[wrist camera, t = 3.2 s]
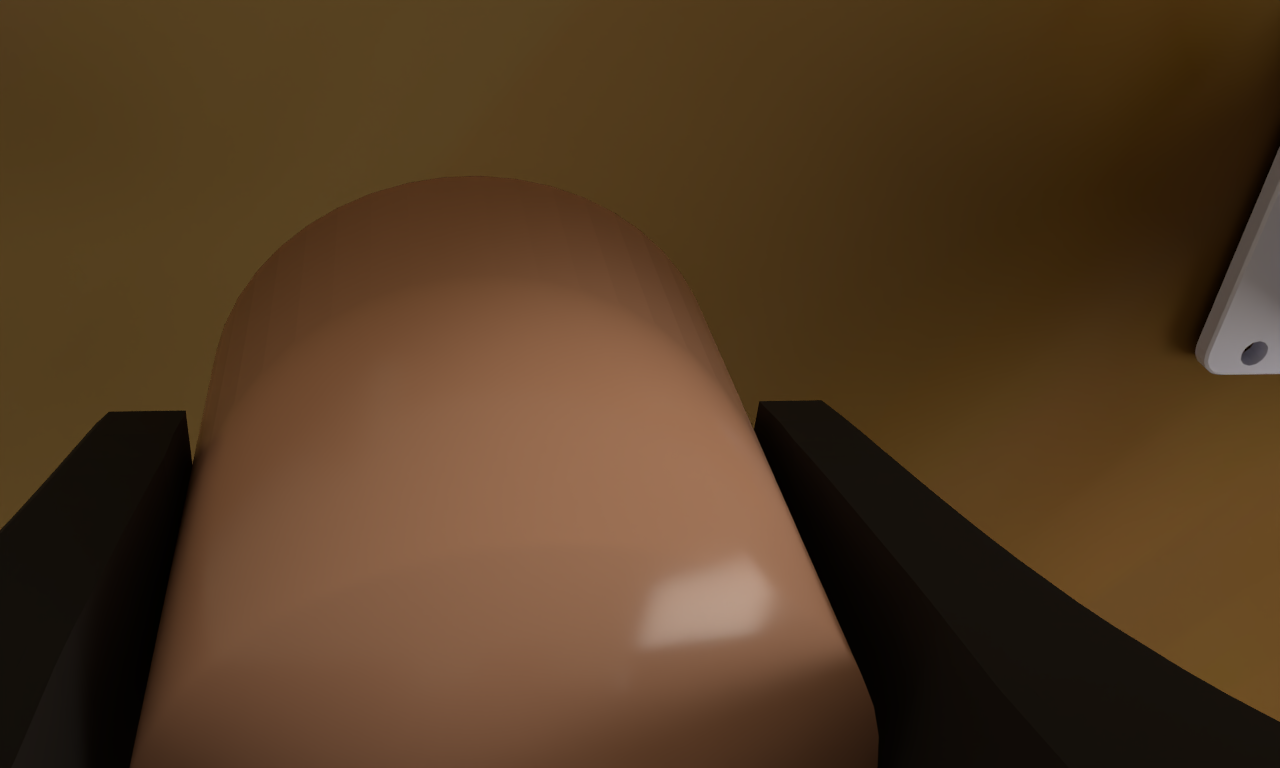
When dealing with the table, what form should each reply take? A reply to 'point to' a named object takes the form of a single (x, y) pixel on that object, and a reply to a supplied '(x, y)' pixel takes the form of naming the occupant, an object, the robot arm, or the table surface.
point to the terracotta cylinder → (487, 515)
